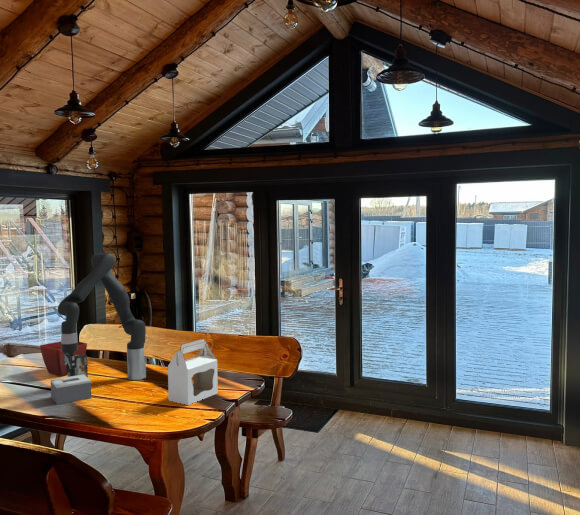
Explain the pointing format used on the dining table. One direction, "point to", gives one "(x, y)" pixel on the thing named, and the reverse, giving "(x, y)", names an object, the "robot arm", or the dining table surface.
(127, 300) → the robot arm
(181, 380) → the gable box
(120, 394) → the dining table surface
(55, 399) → the box
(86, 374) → the coffee box
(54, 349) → the plant pot
